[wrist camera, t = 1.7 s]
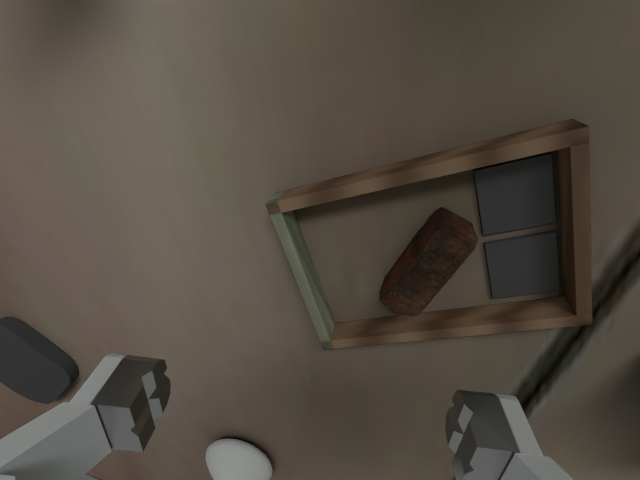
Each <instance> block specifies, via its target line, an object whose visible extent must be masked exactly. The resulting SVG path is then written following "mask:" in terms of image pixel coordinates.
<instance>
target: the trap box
mask: <svg viewBox="0 0 640 480" xmlns="http://www.w3.org/2000/svg"><path fill="white" fill-rule="evenodd" d="M554 150H557V160H558V179H559V198H560V217H561V236H562V255H563V274H564V293H565V296H563V297H555V298H546V299H538V300H529V301H520V302H512V303H503V304H495V305H486V306H477V307H469V308H460V309H452V310H443V311H435V312H426V313H420V314H418V315H417V316H410V315H400V316H392V317H383V318H374V319H366V320H357V321H349V322H340V323H335V322H334V319H333V316H332V314H331V311H330V308H329V305H328V303H327V300H326V297H325V295H324V292H323V289H322V287H321V284H320V281H319V278H318V276H317V273H316V270H315V268H314V265H313V262H312V260H311V257H310V254H309V251H308V249H307V246H306V243H305V241H304V238H303V235H302V232H301V230H300V227H299V224H298V222H297V219H296V216H295V214H294V211H293V210H296V209H301V208H305V207H309V206H314V205H318V204H323V203H327V202H331V201H336V200H340V199H344V198H349V197H353V196H358V195H362V194H366V193H371V192H375V191H379V190H384V189H388V188H393V187H397V186H401V185H406V184H410V183H414V182H419V181H423V180H427V179H432V178H436V177H441V176H445V175H449V174H454V173H458V172H462V171H467V170H471V169H476V168H480V167H484V166H489V165H493V164H497V163H502V162H506V161H511V160H515V159H519V158H524V157H528V156H532V155H537V154H541V153H546V152H550V151H554ZM266 207H267V209H268V212H269V214H270V217H271V219H272V222H273V224H274V227H275V229H276V232H277V234H278V237H279V239H280V242H281V244H282V247H283V249H284V252H285V254H286V257H287V259H288V262H289V264H290V267H291V269H292V272H293V274H294V277H295V279H296V282H297V284H298V287H299V289H300V292H301V294H302V297H303V299H304V302H305V304H306V307H307V309H308V312H309V314H310V317H311V319H312V322H313V324H314V327H315V329H316V332H317V334H318V337H319V339H320V342H321V344H322V347H323V349H324V350H325V349H336V348H346V347H357V346H368V345H379V344H389V343H400V342H411V341H421V340H432V339H443V338H454V337H464V336H475V335H486V334H497V333H507V332H518V331H529V330H540V329H550V328H561V327H572V326H583V325H592V282H591V223H590V163H589V126H587V125H585V124H583V123H581V122H578V121H576V120H574V119H570V120H566V121H562V122H558V123H554V124H550V125H546V126H542V127H538V128H534V129H530V130H526V131H522V132H518V133H514V134H510V135H506V136H502V137H498V138H494V139H490V140H486V141H482V142H478V143H474V144H470V145H466V146H462V147H458V148H454V149H450V150H446V151H442V152H438V153H434V154H430V155H426V156H422V157H418V158H414V159H410V160H406V161H402V162H398V163H394V164H390V165H386V166H382V167H378V168H374V169H370V170H366V171H362V172H358V173H354V174H350V175H346V176H342V177H338V178H334V179H330V180H326V181H322V182H318V183H314V184H310V185H306V186H302V187H298V188H294V189H290V190H286V191H282V192H278V193H275V194H274V195H273V196H272V197H271V199H270V200H269V201H268V202H267V203H266Z"/></svg>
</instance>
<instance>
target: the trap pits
mask: <svg viewBox="0 0 640 480" xmlns="http://www.w3.org/2000/svg"><path fill="white" fill-rule="evenodd" d="M474 177H475V184H476V191H477V197H478V204H479V211H480V218H481V224H482V231H483V235H488V234H493V233H499V232H505V231H511V230H516V229H522V228H528V227H534V226H539V225H545V224H551V223H556V217H555V200H554V182H553V165H552V153H545V154H541V155H536V156H532V157H528V158H523V159H519V160H515V161H510V162H506V163H501V164H497V165H493V166H488V167H484V168H479V169H475V170H474ZM484 245H485V251H486V258H487V265H488V271H489V278H490V285H491V292H492V297H493V298H501V297H509V296H517V295H525V294H534V293H542V292H550V291H558V290H560V285H559V268H558V251H557V234H556V231H549V232H543V233H537V234H531V235H525V236H519V237H513V238H507V239H501V240H495V241H489V242H484Z"/></svg>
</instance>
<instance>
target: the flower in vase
mask: <svg viewBox="0 0 640 480" xmlns="http://www.w3.org/2000/svg"><path fill="white" fill-rule="evenodd" d="M206 463H207V466H208V469H209V472H210V474H211V476H212V478H213V480H270V479H271V477H272V474H273V470H272V466H271V463H270V460H269V459H268V457H267V456H266V455H265V454H264V453H263V452H262V451H261V450H259V449H258V448H257V447H255V446H253V445H251V444H249V443H247V442H244V441H241V440H237V439H230V438H225V439H220V440H217V441H215V442H213V443H212V444H210V445H209V446H208V448H207V450H206Z"/></svg>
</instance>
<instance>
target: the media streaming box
mask: <svg viewBox="0 0 640 480" xmlns="http://www.w3.org/2000/svg"><path fill="white" fill-rule="evenodd" d="M78 374H79V370H78V367H77V365H76V363H75V362H74V360H73V359H72V358H71V357H70V356H69V355H67V354H66V353H65V352H64V351H62V350H61V349H60V348H59V347H57V346H56V345H55V344H53V343H52V342H51V341H49V340H48V339H47V338H45V337H44V336H43V335H41V334H40V333H39V332H37V331H36V330H34V329H33V328H32V327H30V326H29V325H27V324H26V323H24V322H23V321H21V320H19V319H16V318H13V317H4V318H2V319H0V382H2V383H3V384H4V385H6V386H7V387H9V388H10V389H12V390H13V391H15V392H17V393H18V394H20V395H22V396H24V397H26V398H28V399H30V400H33V401H36V402H40V403H44V404H50V403H51V402H53V401H54V400H55V399H56V398H57V397H58V396H59V395H60V394H61V393H62V392H63V391H64V390H65V389H66V388H67V387H68V386H69V385H70V384H71V383H72V382H73V381H74V380H75V378H76V377H77V376H78Z"/></svg>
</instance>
